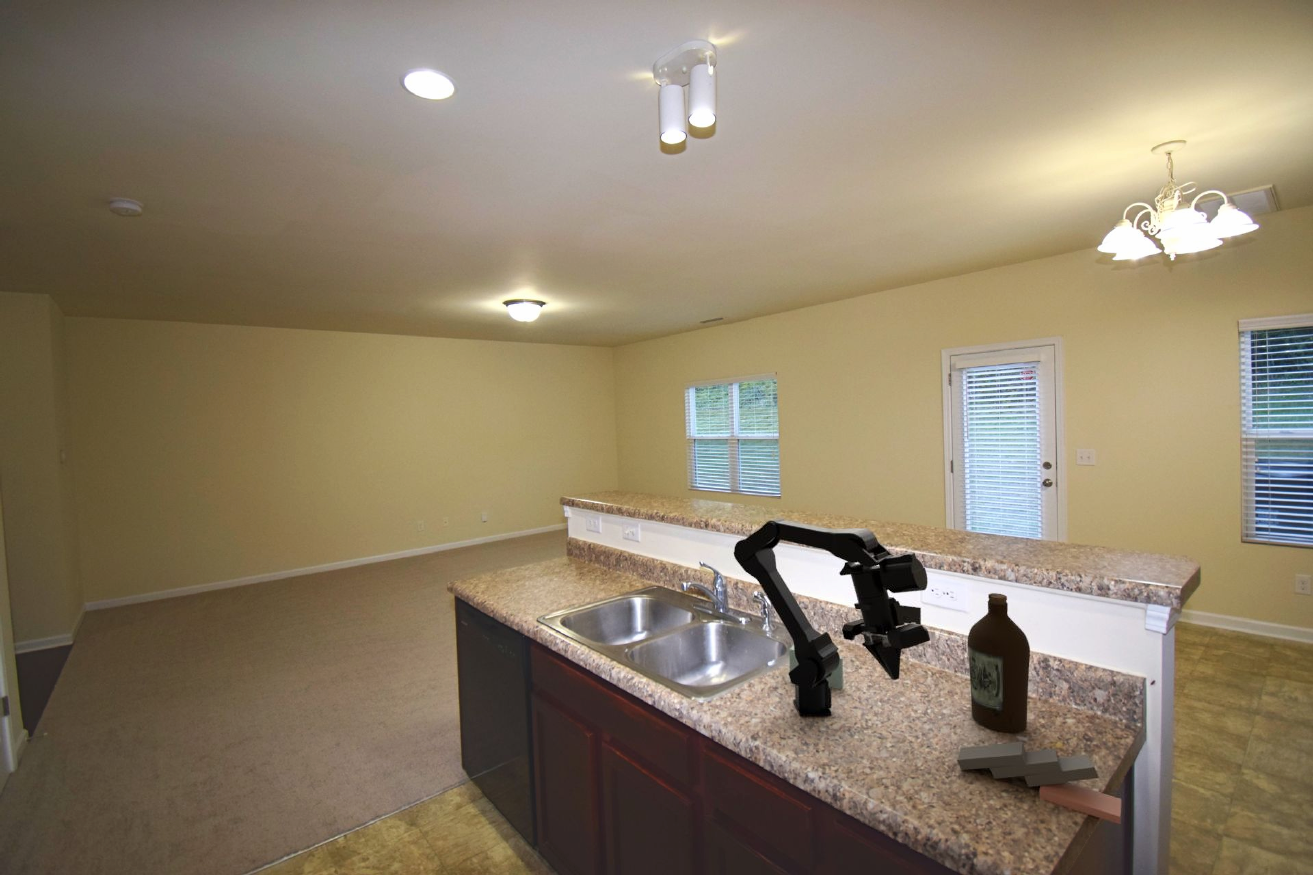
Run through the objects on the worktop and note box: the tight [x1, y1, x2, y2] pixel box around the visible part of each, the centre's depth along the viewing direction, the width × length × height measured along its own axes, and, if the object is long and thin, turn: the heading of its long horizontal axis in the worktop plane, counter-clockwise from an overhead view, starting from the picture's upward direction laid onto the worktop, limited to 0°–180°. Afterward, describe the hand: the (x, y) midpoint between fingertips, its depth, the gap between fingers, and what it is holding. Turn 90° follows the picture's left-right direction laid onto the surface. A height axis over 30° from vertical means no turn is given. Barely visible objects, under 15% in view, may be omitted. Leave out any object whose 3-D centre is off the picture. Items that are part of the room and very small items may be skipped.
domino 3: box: [1023, 753, 1100, 788], centre depth 95 cm, size 2×5×10 cm
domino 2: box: [989, 747, 1062, 780], centre depth 97 cm, size 2×5×10 cm
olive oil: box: [967, 592, 1031, 734], centre depth 116 cm, size 11×11×25 cm
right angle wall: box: [788, 644, 844, 690], centre depth 139 cm, size 12×12×8 cm
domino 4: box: [1038, 782, 1122, 825], centre depth 91 cm, size 2×5×10 cm
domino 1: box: [957, 741, 1027, 771], centre depth 100 cm, size 2×5×10 cm
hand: (895, 679), depth 110 cm, fingers closed
